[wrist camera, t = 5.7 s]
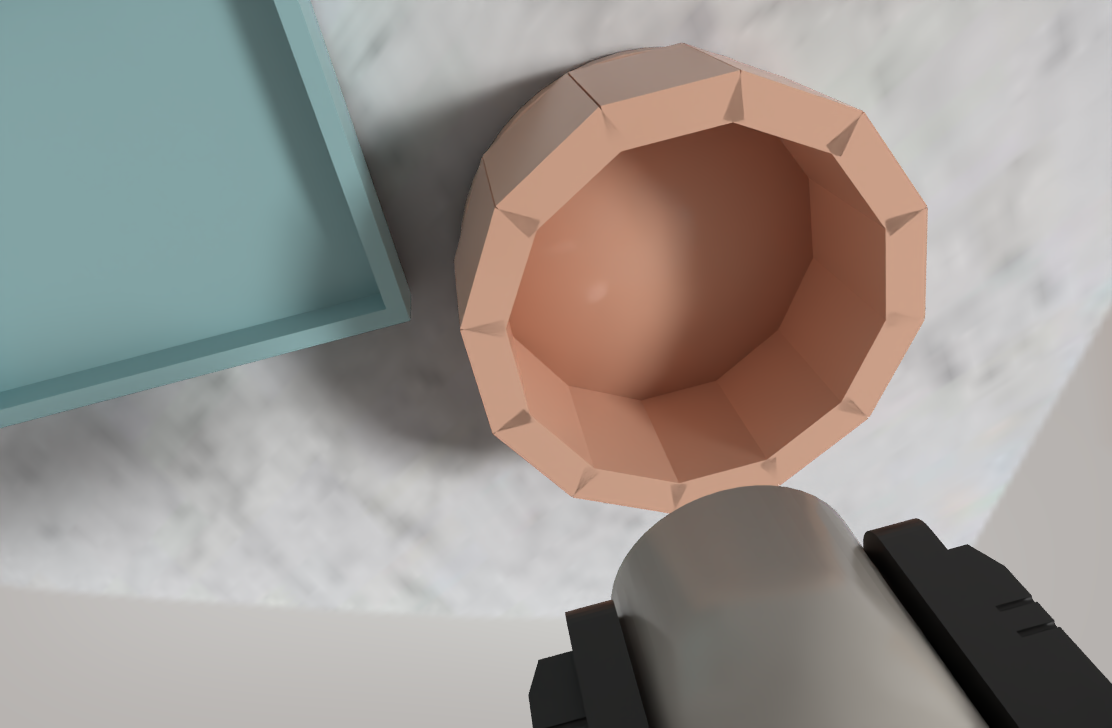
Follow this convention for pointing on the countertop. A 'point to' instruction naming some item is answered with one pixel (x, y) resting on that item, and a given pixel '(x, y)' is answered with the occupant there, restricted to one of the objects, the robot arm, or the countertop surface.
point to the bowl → (685, 276)
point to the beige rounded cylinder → (774, 623)
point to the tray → (176, 198)
